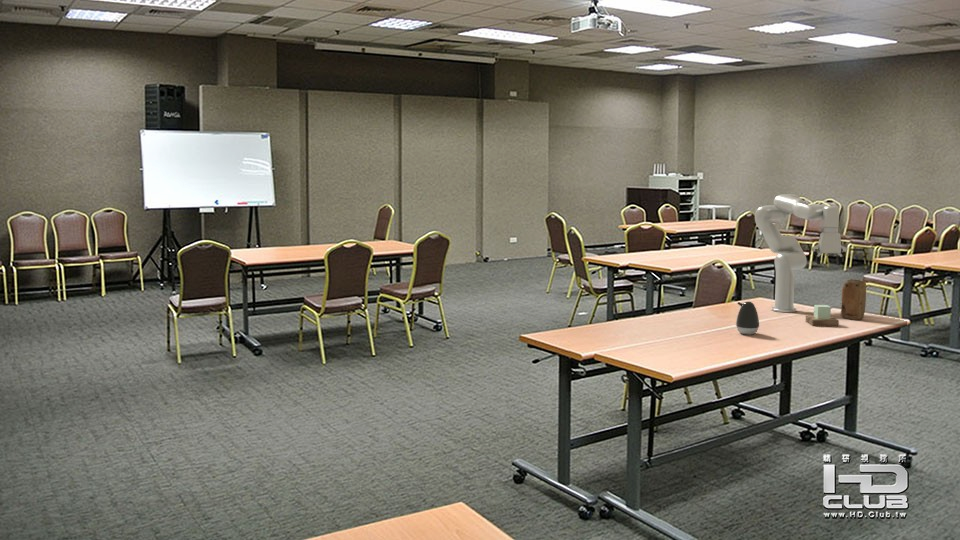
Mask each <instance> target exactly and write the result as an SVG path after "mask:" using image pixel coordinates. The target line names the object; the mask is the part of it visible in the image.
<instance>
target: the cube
mask: <svg viewBox="0 0 960 540" xmlns="http://www.w3.org/2000/svg"><path fill="white" fill-rule="evenodd" d="M831 311H832V307H831V306H829V305H828V304H814V306H813V316H814V317H815V318H817V319H830V316H831V313H832V312H831Z"/></svg>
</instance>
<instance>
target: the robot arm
mask: <svg viewBox="0 0 960 540" xmlns="http://www.w3.org/2000/svg"><path fill="white" fill-rule="evenodd" d="M792 214H793V215H794V216H795V217H797V218H799V219H803V220H807V221H822V224H821V227H820V228H818V230H819V232H820V234H819V238H818V243H817V244H816V245H814V246H811V247H810V249H811V252H812V254H814V256H815V263H816V264H817V265H821V260H822V259H821V258H822V257H821V255H822V254H836V255H837V256H836V264H837V266H840V265H841V264H842V257H843V256H844V255H845V254H846V252H847V251H848V247H846V246H844V245H842V239H841V238H842V237H841V233H839V225H840V224H839V223H840V207H839V206H838V205H827V204H826V205H824V204H814V205H813V204H812V205H811V204H806V203H805V201H804V199H802V198H801V197H800V196H798V195H797V194H793V193H788V194H787V193H786V194H785V193H783V194H778V195H777V196H776V197H775V198H774V199H773V204H772V205H771V204H770V205H762V206H760V207H758V208H757V209H756V210H755V213H754V222H755V224H756V226H757V228H758V229H759V231H760V233H761V234H762V236H763V238H764V240H765V242H766V244H767V247H768V248H769V249H770V251H771V252H772V253H774V254H777V255H776V256H775V257H774V261H773V262H774V269H775V287H774V288H775V291H774V306H771V311H773V312H779V313H796V312H797V308H796V307H794V304H795V303H794V302H795V301H794V300H795V298H794V297H795V280H796V279H795V274H794V272H793V271H794V270H795V271H796V270H802V269H804V268H805V267H806V265H807V256H806V254H805V252H804V250H803V248H802V247H801V244H800V243H799V241H798V239H796V237H794V236H792V235H783V234H781V232H780V230H779V228H778V226H777V225H776V224H774V223H773V222H772V221H783V220H786V219H787V218H788V217H789V216H791V215H792ZM816 249H817V251H816Z"/></svg>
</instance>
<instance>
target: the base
mask: <svg viewBox="0 0 960 540" xmlns="http://www.w3.org/2000/svg"><path fill="white" fill-rule="evenodd" d="M805 323H806V324H809V325H810V326H812V327H836V328H838V327H839V325H840V324H839V323H840V320H839V319H836V318H835V317H833V316H831V315H830V319H817V318H815V317H814V315H805Z"/></svg>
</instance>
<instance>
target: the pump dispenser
mask: <svg viewBox="0 0 960 540" xmlns="http://www.w3.org/2000/svg"><path fill="white" fill-rule="evenodd" d="M737 305H739V306H740V308H739V310H738V313H737V317H736V322H735V326H736V328H737V331H738V332H739V333H740V334H742V335H747V336H748V335H749V336H750V335H754V334H756V333H757V332H758V330H759V328H760V321H759V320H760V318H759V314H758V311H757V308H756V306H755V304H754V303H753V302H751V301H745V302H743V303H742V302H740V301H737Z"/></svg>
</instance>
